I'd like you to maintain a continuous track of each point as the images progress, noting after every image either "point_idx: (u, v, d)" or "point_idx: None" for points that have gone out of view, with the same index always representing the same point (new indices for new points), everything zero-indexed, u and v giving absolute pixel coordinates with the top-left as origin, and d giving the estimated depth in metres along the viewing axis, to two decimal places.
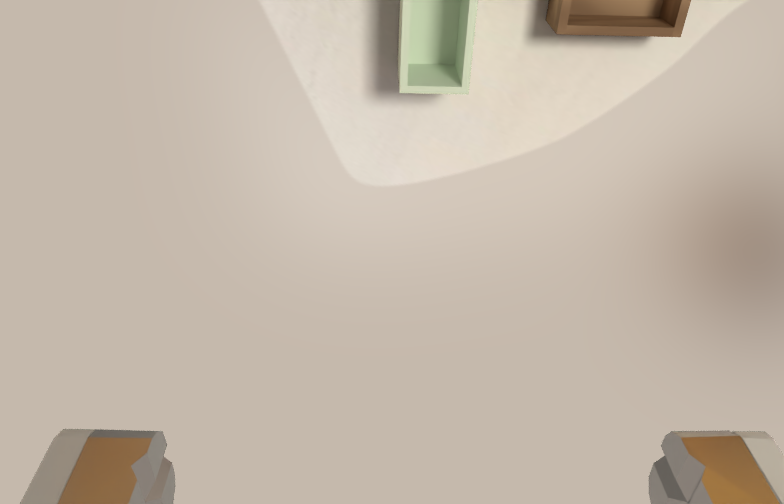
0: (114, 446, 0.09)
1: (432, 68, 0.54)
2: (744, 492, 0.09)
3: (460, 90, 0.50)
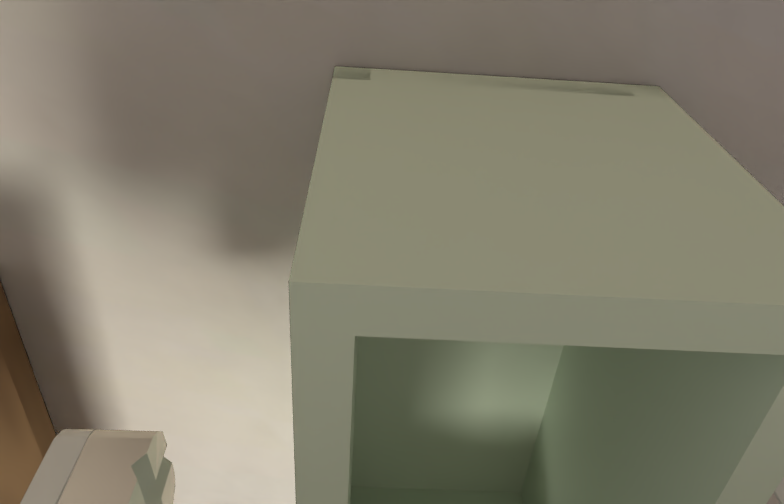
0: (114, 446, 0.09)
1: None
2: None
3: (363, 310, 0.06)
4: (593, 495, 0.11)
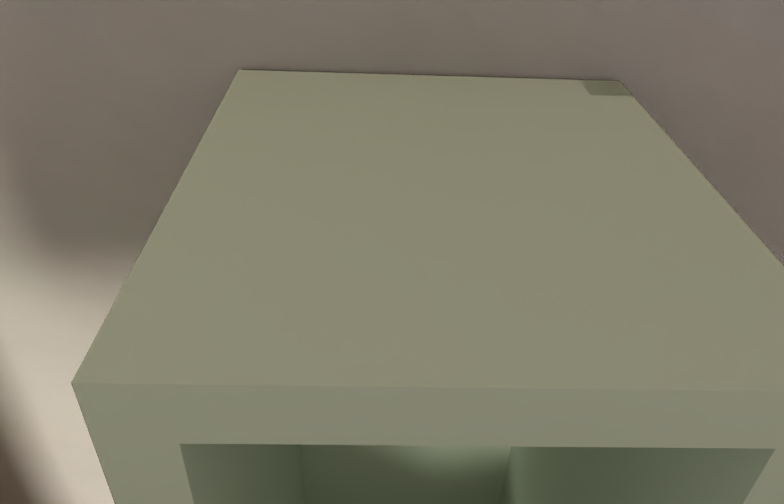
0: None
1: None
2: None
3: (183, 412, 0.04)
4: None
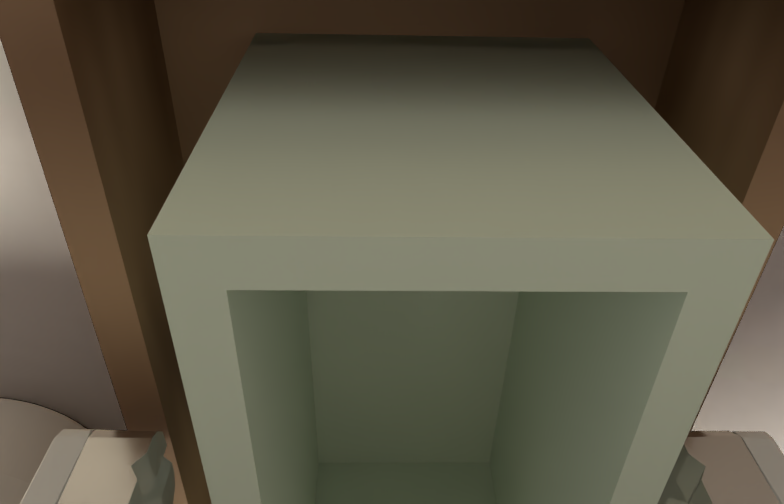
0: (114, 446, 0.09)
1: None
2: (745, 492, 0.09)
3: (229, 262, 0.06)
4: (541, 457, 0.11)
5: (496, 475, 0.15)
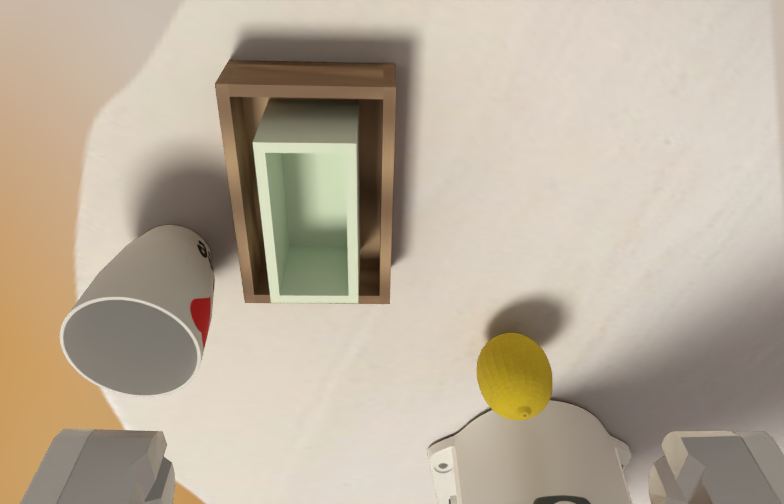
0: (114, 446, 0.09)
1: None
2: (745, 492, 0.09)
3: (265, 147, 0.34)
4: None
5: None
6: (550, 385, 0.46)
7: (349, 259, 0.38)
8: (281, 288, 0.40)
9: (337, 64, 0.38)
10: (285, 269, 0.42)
